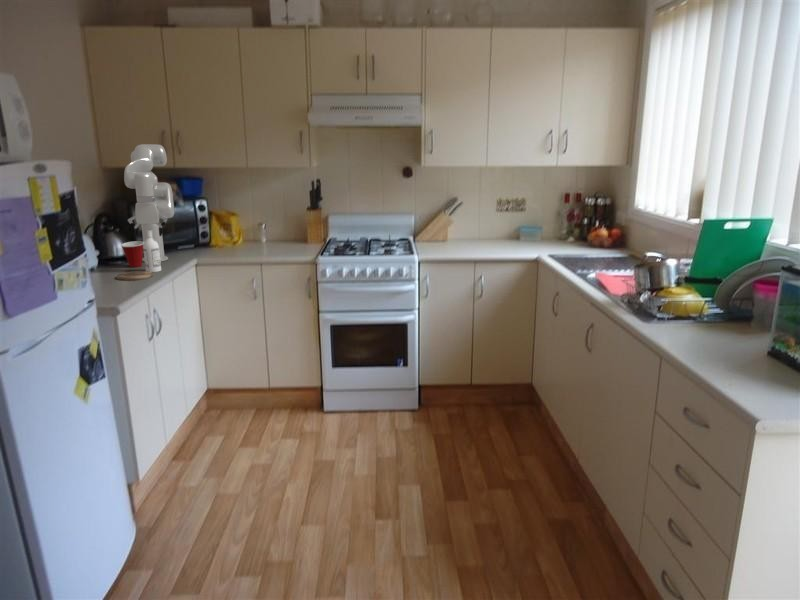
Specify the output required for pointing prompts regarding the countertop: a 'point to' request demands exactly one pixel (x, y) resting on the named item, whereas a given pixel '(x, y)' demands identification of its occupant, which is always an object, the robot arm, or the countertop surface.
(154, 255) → the bath foam
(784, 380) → the countertop surface
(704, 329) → the countertop surface
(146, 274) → the coaster
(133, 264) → the plastic cup
